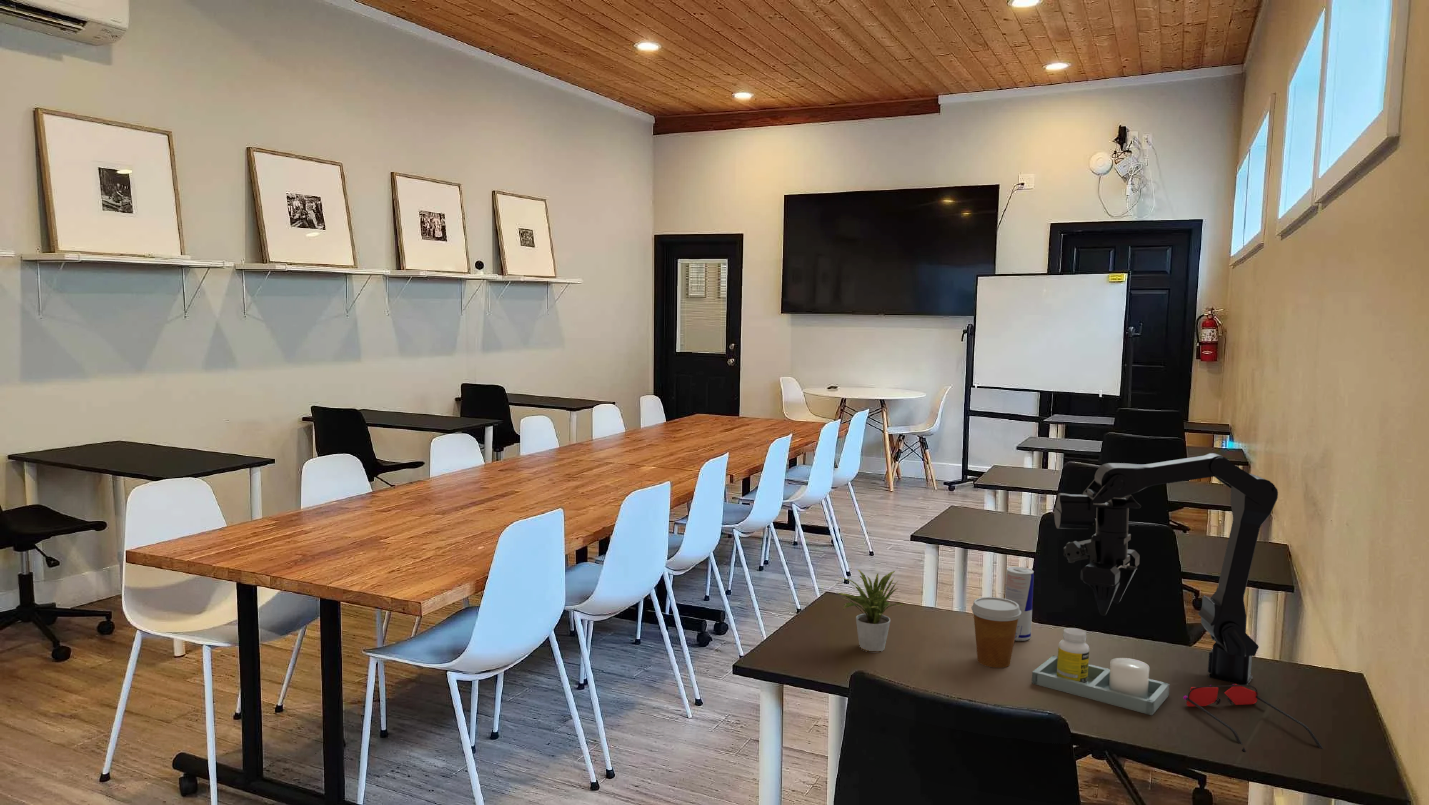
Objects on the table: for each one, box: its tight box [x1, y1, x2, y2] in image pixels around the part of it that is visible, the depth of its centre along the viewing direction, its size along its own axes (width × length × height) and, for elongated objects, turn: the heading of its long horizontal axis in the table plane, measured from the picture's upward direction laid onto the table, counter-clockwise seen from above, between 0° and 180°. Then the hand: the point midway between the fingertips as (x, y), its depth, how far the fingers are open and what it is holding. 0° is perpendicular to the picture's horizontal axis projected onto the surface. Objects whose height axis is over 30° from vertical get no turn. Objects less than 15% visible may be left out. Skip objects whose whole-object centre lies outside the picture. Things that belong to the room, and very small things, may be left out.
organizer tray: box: [1031, 655, 1170, 716], centre depth 172 cm, size 21×11×3 cm, turn 50°
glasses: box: [1182, 683, 1324, 753], centre depth 158 cm, size 14×16×5 cm
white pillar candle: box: [1109, 657, 1150, 699], centre depth 168 cm, size 6×6×6 cm
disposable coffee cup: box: [971, 596, 1021, 669], centre depth 186 cm, size 10×10×12 cm
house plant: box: [837, 568, 903, 652], centre depth 194 cm, size 14×14×16 cm
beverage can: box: [1004, 566, 1035, 642], centre depth 200 cm, size 6×6×15 cm
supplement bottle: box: [1057, 627, 1090, 684], centre depth 175 cm, size 5×5×10 cm
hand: (1109, 608), depth 182 cm, fingers open, 9 cm apart
